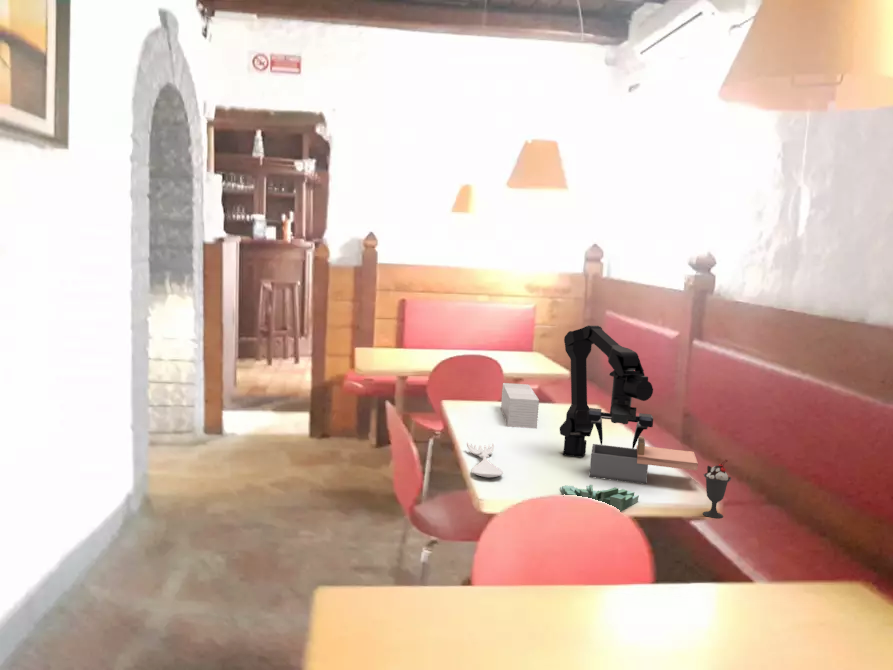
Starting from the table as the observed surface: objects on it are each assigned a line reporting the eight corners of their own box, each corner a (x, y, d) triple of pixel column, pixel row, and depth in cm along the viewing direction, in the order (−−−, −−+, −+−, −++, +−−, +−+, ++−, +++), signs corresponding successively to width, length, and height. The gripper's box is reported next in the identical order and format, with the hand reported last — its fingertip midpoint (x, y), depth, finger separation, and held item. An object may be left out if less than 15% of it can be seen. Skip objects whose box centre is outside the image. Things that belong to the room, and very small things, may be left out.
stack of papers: (500, 409, 315) (502, 382, 314) (527, 410, 316) (529, 384, 314) (507, 427, 284) (509, 398, 282) (536, 429, 284) (539, 400, 283)
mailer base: (589, 476, 226) (591, 453, 225) (590, 466, 237) (592, 443, 236) (646, 484, 222) (648, 460, 221) (645, 472, 234) (647, 450, 233)
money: (568, 510, 196) (570, 492, 196) (559, 490, 212) (560, 473, 212) (647, 515, 196) (649, 497, 196) (632, 495, 212) (634, 478, 212)
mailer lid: (637, 463, 221) (638, 445, 221) (636, 451, 235) (637, 434, 234) (697, 470, 218) (699, 452, 217) (692, 458, 231) (694, 441, 231)
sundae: (729, 521, 195) (735, 462, 193) (701, 517, 196) (707, 459, 194) (725, 512, 201) (731, 456, 199) (698, 509, 202) (703, 453, 201)
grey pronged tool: (493, 452, 247) (494, 442, 246) (504, 483, 215) (505, 471, 214) (465, 451, 246) (465, 440, 246) (472, 481, 214) (473, 469, 214)
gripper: (588, 395, 221) (583, 448, 223) (656, 402, 217) (650, 456, 219) (590, 388, 232) (585, 440, 234) (654, 395, 228) (649, 447, 230)
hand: (617, 446), depth 229 cm, fingers open, 9 cm apart
